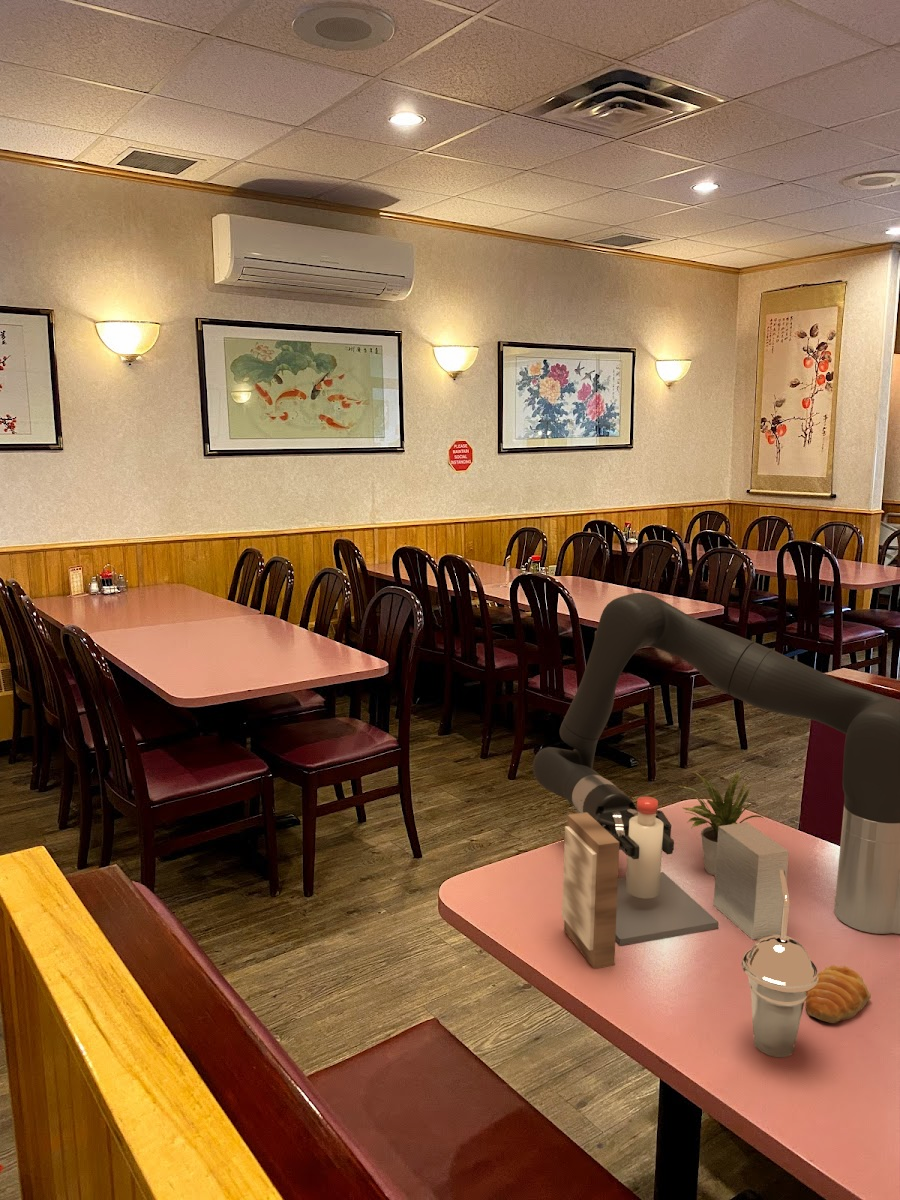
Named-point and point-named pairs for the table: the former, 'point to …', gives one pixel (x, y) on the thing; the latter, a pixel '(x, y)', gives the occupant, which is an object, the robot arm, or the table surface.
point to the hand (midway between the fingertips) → (654, 850)
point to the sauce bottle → (645, 850)
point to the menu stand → (590, 888)
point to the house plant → (717, 817)
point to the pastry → (837, 995)
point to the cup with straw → (778, 986)
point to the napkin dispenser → (749, 879)
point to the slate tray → (658, 914)
